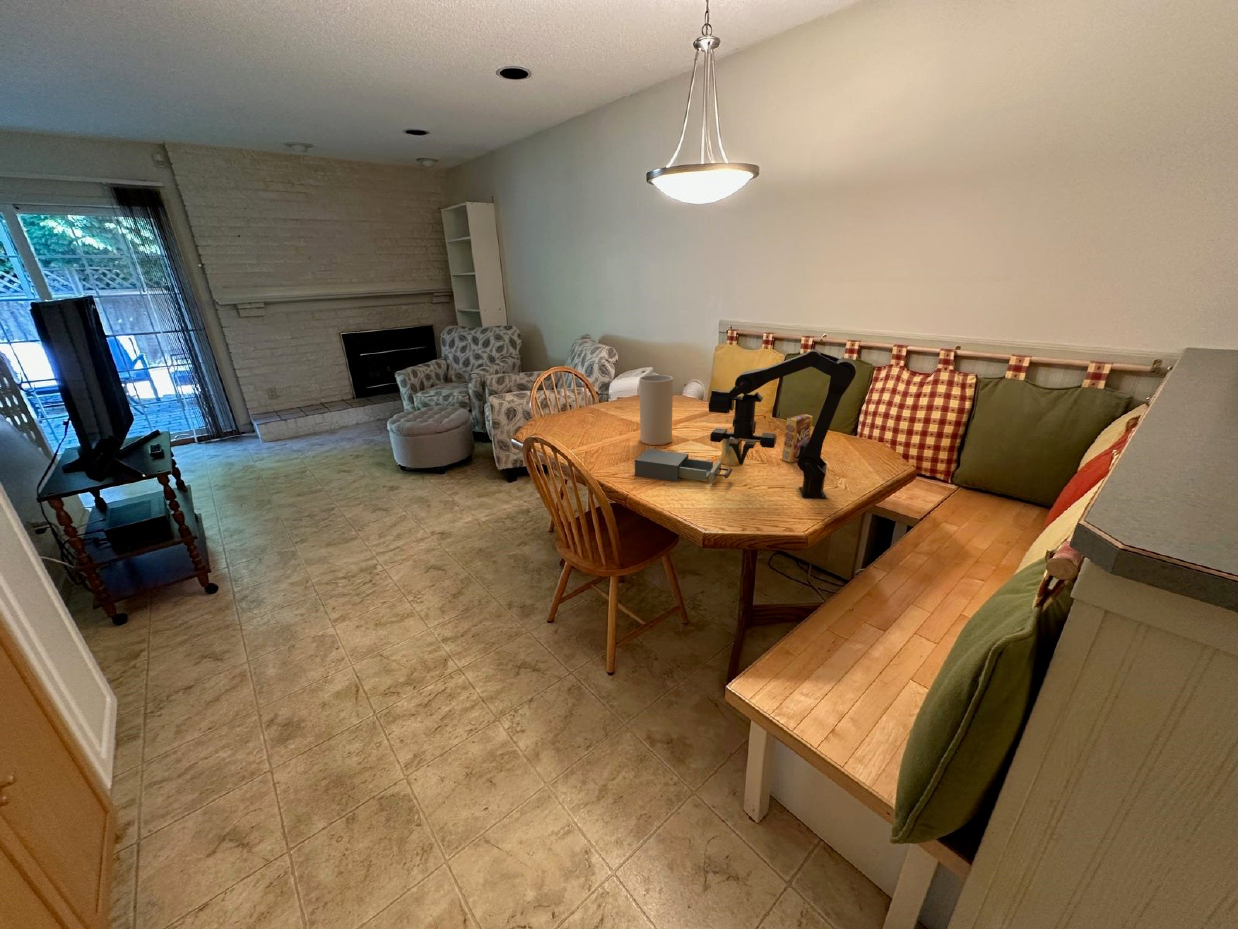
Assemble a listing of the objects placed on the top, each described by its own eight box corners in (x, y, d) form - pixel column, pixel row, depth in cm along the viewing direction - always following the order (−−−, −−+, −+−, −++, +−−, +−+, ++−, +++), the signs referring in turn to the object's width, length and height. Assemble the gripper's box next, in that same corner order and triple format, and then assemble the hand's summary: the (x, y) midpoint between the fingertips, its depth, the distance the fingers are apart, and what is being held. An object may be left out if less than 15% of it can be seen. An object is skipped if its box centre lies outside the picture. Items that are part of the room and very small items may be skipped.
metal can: (734, 466, 161) (736, 438, 158) (717, 462, 165) (718, 435, 162) (744, 461, 166) (746, 433, 162) (727, 457, 170) (728, 430, 166)
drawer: (733, 473, 154) (734, 462, 152) (726, 485, 145) (727, 474, 144) (681, 466, 161) (681, 455, 159) (671, 477, 152) (671, 466, 151)
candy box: (791, 463, 163) (796, 420, 157) (781, 459, 166) (785, 417, 160) (808, 457, 167) (813, 415, 162) (797, 454, 171) (802, 413, 165)
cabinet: (688, 469, 161) (688, 453, 159) (677, 482, 151) (677, 465, 149) (647, 463, 166) (647, 448, 164) (634, 475, 157) (634, 459, 155)
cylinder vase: (677, 438, 191) (678, 376, 182) (662, 447, 181) (662, 382, 172) (650, 434, 197) (650, 373, 188) (634, 442, 188) (633, 379, 179)
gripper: (781, 410, 143) (776, 459, 149) (719, 405, 151) (717, 452, 157) (776, 420, 134) (771, 471, 140) (710, 414, 141) (708, 463, 147)
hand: (741, 464), depth 146 cm, fingers closed
